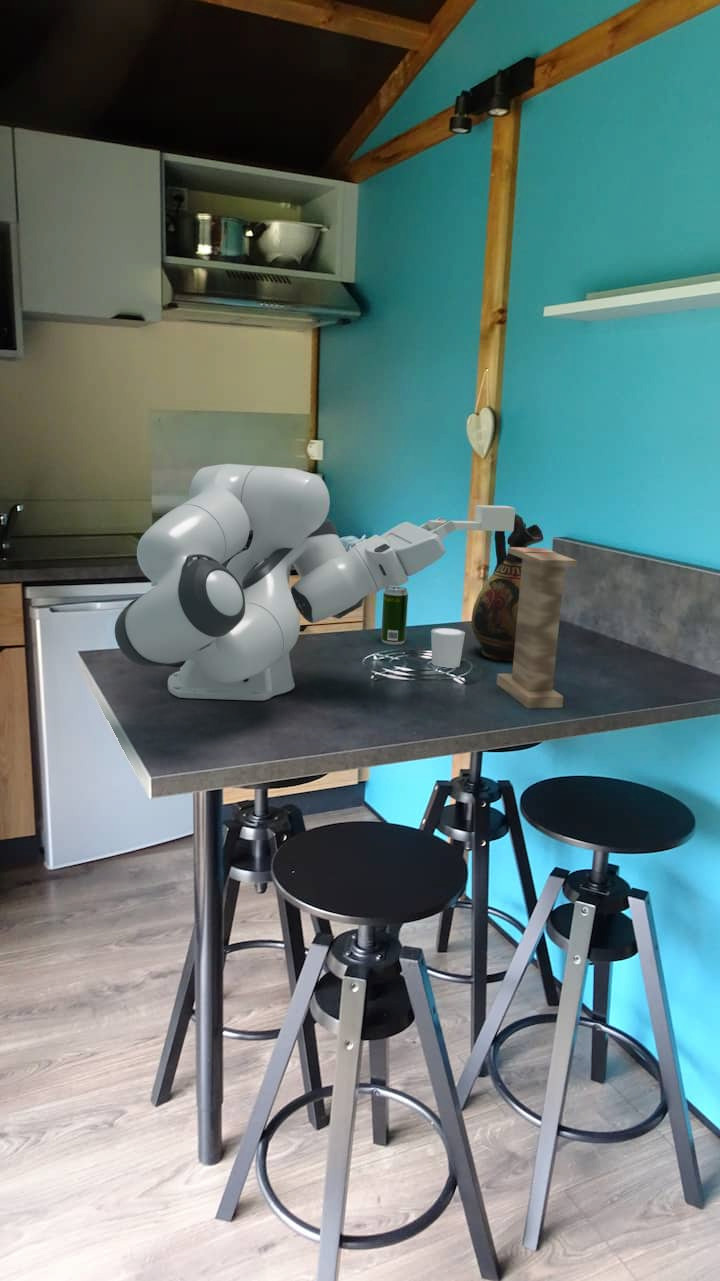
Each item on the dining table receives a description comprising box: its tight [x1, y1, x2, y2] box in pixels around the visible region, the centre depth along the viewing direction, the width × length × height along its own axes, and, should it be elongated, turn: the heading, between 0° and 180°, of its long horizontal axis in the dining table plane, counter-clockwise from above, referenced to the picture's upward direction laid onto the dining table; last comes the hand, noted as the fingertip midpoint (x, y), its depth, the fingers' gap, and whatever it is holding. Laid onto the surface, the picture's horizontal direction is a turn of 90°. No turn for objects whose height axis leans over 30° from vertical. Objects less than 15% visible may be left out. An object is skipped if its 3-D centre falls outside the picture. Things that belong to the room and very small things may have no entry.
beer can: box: [380, 586, 409, 646], centre depth 202 cm, size 5×5×12 cm
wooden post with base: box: [496, 546, 578, 709], centre depth 166 cm, size 6×15×26 cm, turn 13°
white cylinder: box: [430, 627, 466, 669], centre depth 186 cm, size 7×7×7 cm
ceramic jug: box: [471, 513, 544, 663], centre depth 194 cm, size 17×15×30 cm
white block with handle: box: [427, 504, 516, 532], centre depth 161 cm, size 14×4×4 cm, turn 103°
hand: (449, 522), depth 160 cm, fingers closed on white block with handle, 3 cm apart
